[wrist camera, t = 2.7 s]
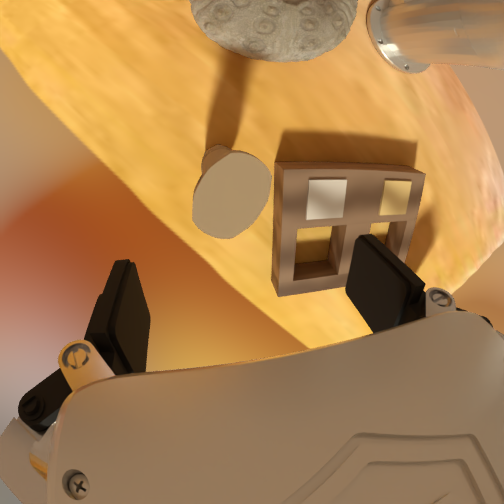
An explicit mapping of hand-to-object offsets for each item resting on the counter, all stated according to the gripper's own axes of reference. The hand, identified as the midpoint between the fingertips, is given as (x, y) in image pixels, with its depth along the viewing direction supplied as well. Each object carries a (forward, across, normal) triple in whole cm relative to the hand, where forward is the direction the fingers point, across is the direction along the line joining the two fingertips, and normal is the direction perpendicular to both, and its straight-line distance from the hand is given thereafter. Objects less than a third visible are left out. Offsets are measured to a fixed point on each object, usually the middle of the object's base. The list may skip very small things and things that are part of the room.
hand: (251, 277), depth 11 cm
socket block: (+24, -18, +10) cm, 32 cm away
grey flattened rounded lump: (+24, -6, -20) cm, 32 cm away
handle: (+24, 0, 0) cm, 24 cm away
